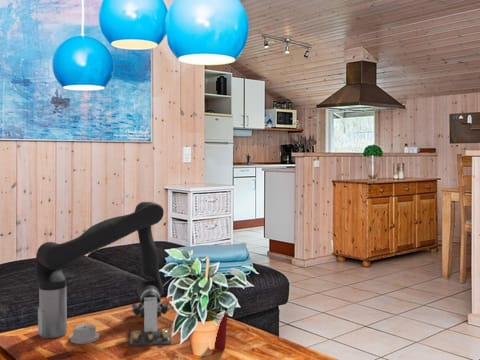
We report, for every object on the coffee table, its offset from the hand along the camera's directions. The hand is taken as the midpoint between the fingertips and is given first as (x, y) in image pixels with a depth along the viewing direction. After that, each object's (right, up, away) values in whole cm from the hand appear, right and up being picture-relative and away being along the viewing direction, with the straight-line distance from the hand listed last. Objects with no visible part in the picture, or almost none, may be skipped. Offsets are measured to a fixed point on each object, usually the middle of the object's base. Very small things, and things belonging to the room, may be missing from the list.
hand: (150, 315), depth 175 cm
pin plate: (-1, -9, +3) cm, 10 cm away
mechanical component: (-24, -10, +3) cm, 26 cm away
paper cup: (+23, -10, -5) cm, 26 cm away
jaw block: (0, -6, +3) cm, 7 cm away
